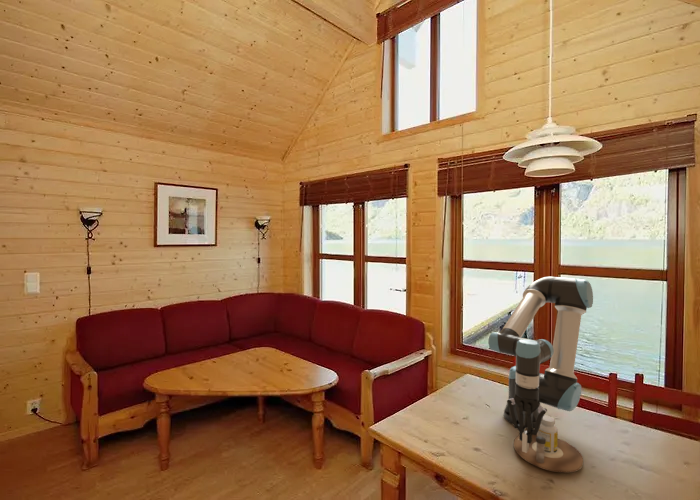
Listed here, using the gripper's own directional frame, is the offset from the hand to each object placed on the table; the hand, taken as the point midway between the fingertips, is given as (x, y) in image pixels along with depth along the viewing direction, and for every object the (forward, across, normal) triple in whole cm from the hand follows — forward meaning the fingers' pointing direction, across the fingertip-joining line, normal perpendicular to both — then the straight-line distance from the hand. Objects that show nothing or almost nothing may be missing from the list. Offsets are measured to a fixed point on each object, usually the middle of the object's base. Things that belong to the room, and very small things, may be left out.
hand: (525, 450), depth 128 cm
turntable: (+3, +5, +9) cm, 11 cm away
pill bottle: (+2, +5, +10) cm, 11 cm away
